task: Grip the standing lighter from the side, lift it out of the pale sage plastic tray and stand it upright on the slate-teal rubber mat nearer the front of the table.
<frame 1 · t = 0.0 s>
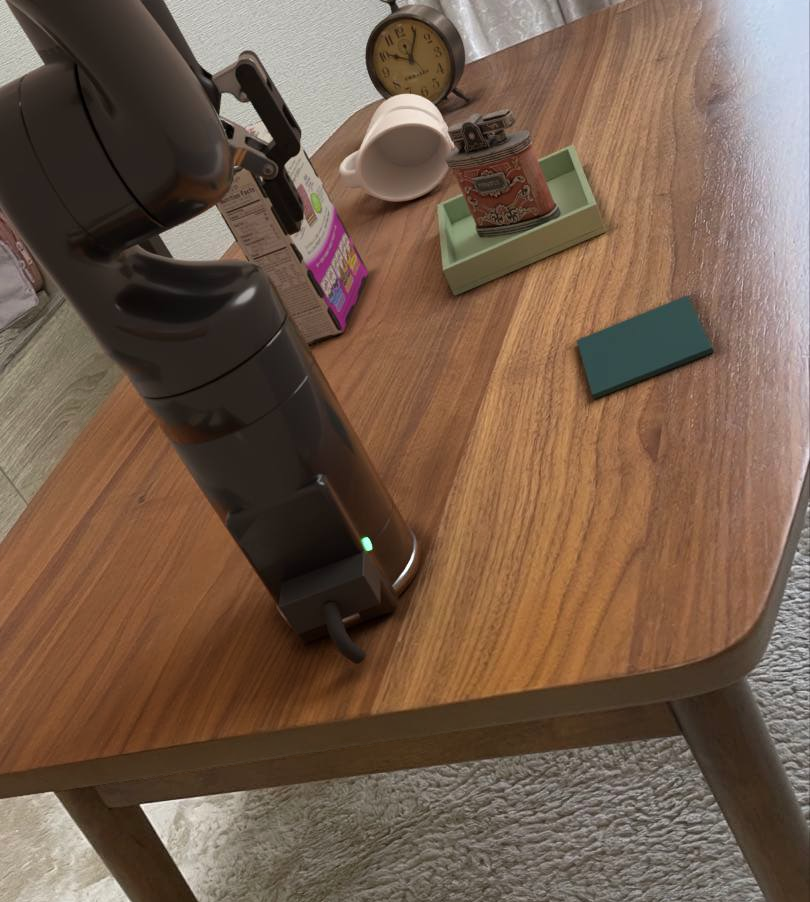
hand: (235, 255, 78), 17 cm above the table, tool pointing down, fingers open, 8 cm apart
lighter: (520, 226, 106), resting on tray
tray: (521, 230, 107), on the table
mug: (412, 188, 128), on the table
candy bar box: (334, 313, 111), on the table
alarm clock: (440, 111, 145), on the table
mat: (642, 348, 82), on the table
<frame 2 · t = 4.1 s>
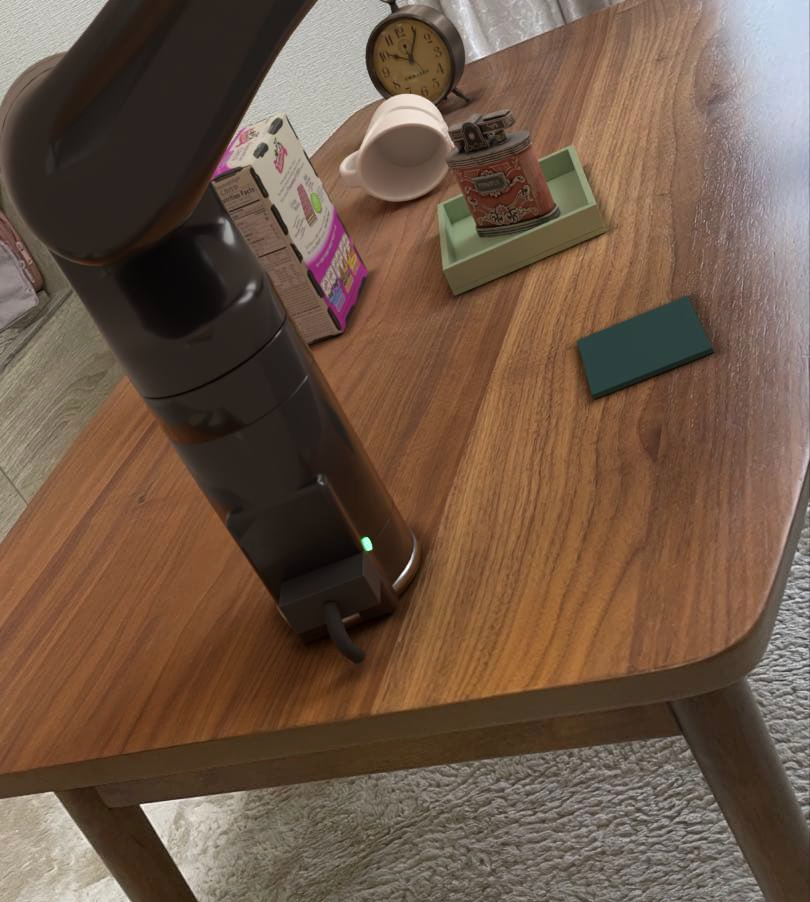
nothing on the table moved.
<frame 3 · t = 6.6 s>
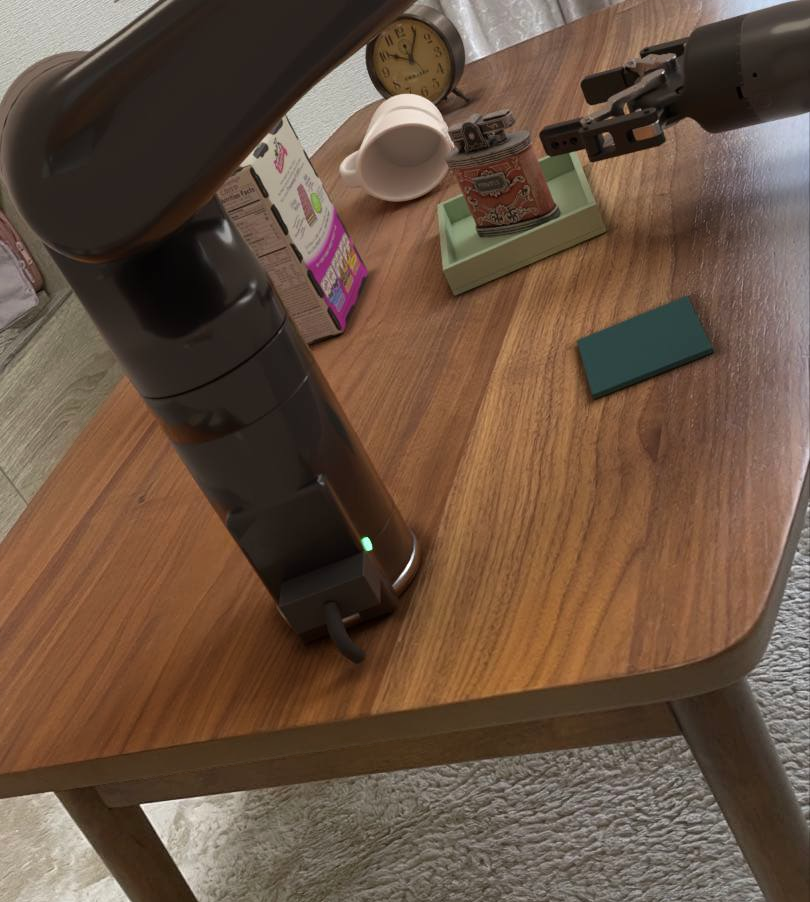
hand: (564, 116, 97), 9 cm above the table, tool horizontal, fingers open, 8 cm apart
nothing on the table moved.
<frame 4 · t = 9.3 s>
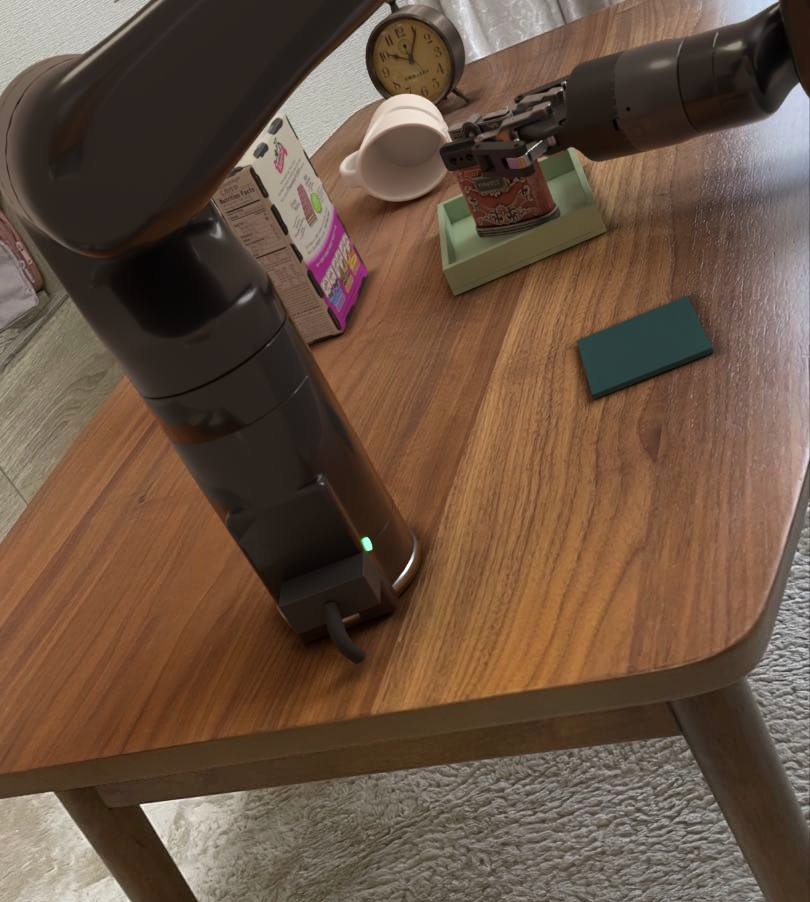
hand: (455, 146, 104), 9 cm above the table, tool horizontal, fingers closed on lighter, 3 cm apart
lighter: (520, 226, 106), resting on tray, touching gripper
everything else where it was.
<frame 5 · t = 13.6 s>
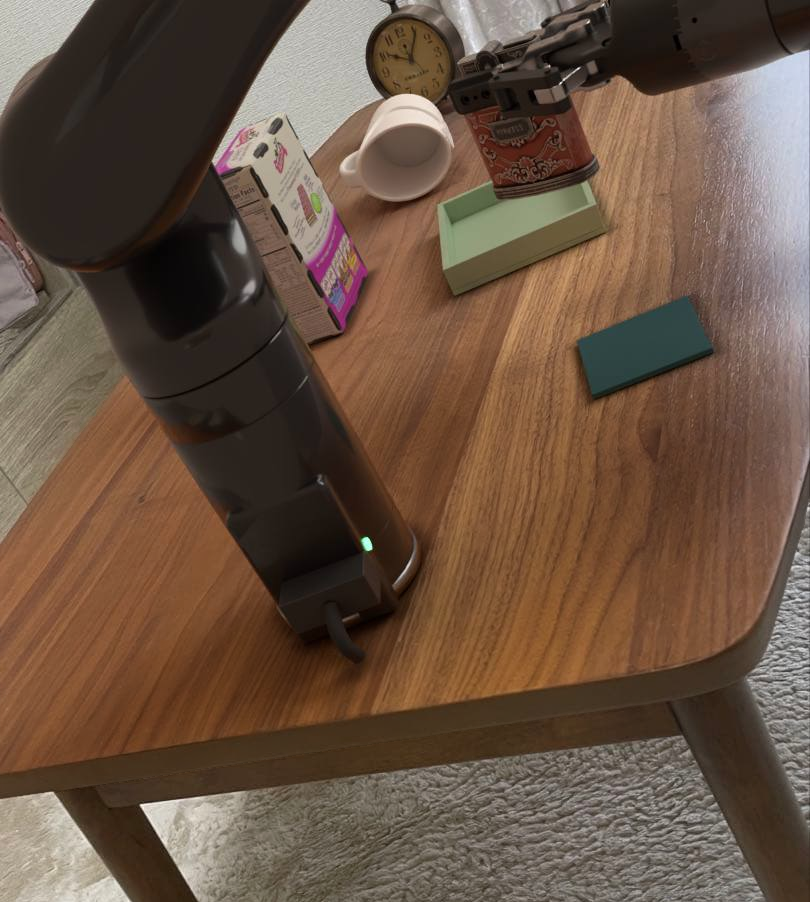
hand: (467, 84, 83), 18 cm above the table, tool horizontal, fingers closed on lighter, 3 cm apart
lighter: (548, 185, 85), point 9 cm above the table, touching gripper
everything else where it was.
when the fingers open (8 cm above the table, at t = 17.7 s): lighter stays where it is, resting on mat.
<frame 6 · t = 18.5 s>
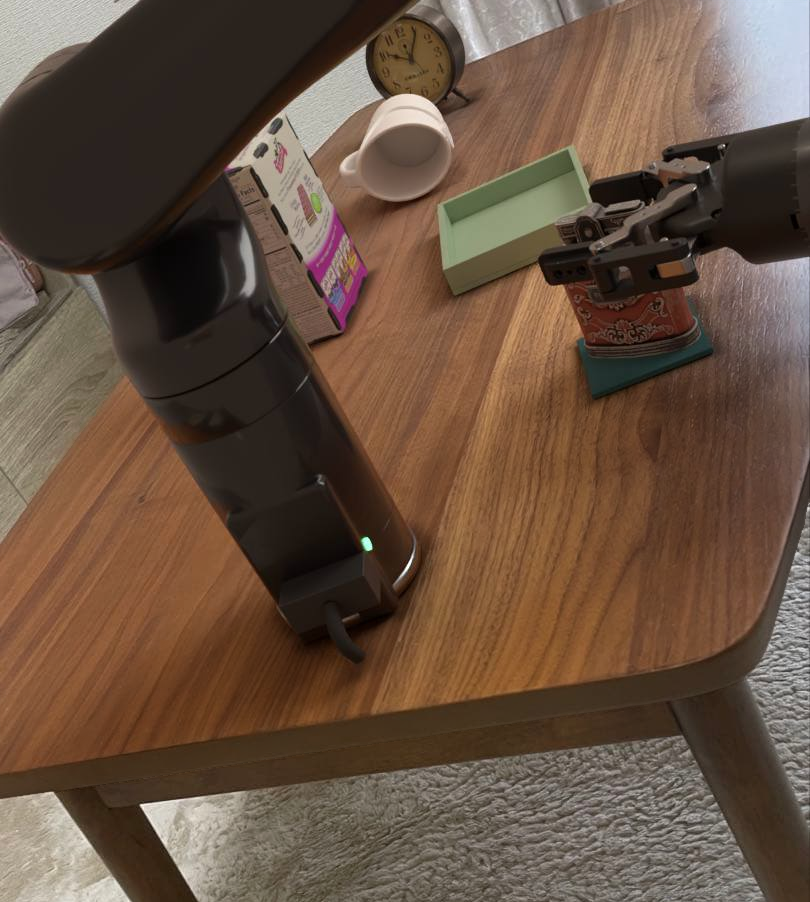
hand: (569, 232, 79), 9 cm above the table, tool horizontal, fingers open, 8 cm apart
lighter: (644, 345, 82), resting on mat
everything else where it was.
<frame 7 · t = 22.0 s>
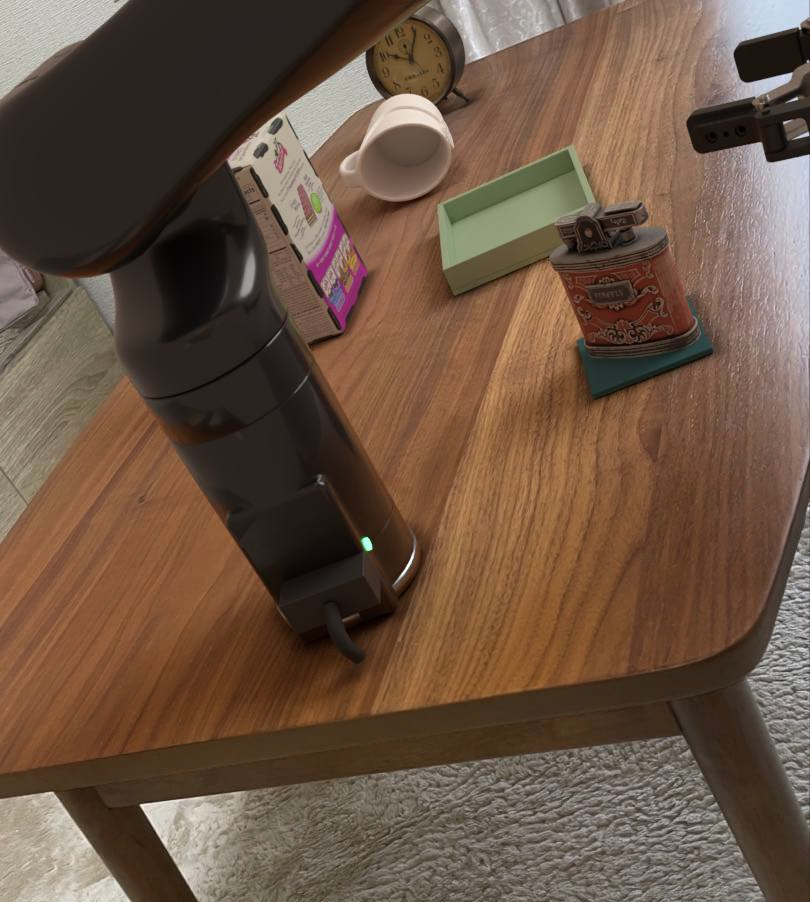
hand: (715, 97, 69), 15 cm above the table, tool horizontal, fingers open, 8 cm apart
nothing on the table moved.
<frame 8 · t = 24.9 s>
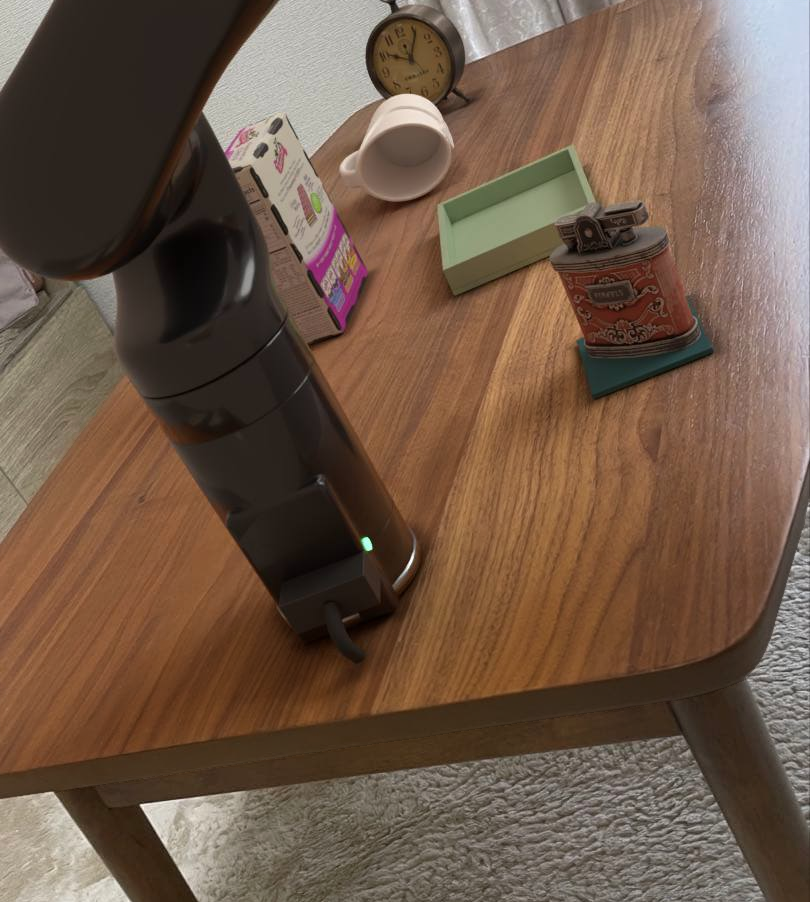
nothing on the table moved.
at the end: lighter inside the target area on the mat (0.2 cm from its centre), point 0.2 cm above the mat's base; lighter tilted 0°; the gripper is holding nothing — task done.
